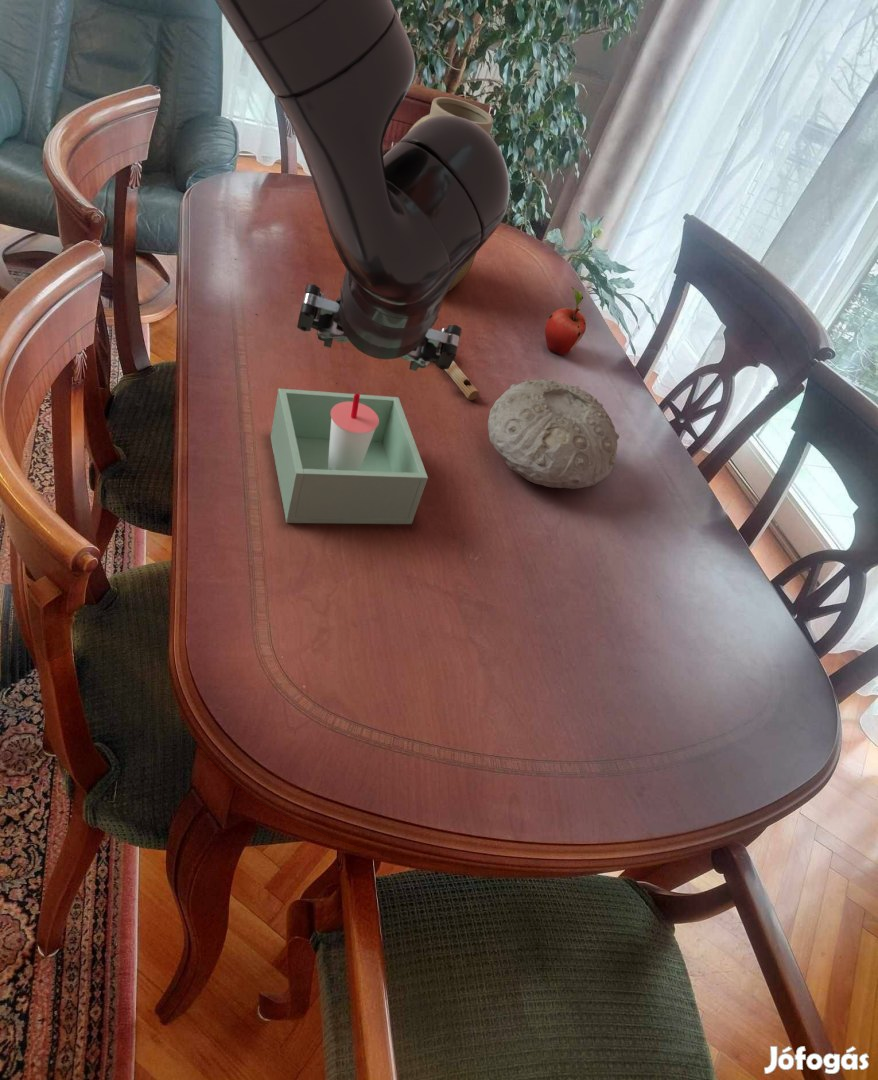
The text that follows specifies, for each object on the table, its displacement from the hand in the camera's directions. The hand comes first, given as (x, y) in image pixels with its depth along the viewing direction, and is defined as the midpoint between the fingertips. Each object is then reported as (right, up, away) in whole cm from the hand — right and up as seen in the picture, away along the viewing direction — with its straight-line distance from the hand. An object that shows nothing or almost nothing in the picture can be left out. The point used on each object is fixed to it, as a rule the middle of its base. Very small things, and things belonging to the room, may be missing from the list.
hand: (372, 348), depth 76 cm
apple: (+26, +13, +55) cm, 62 cm away
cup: (-5, -11, +16) cm, 20 cm away
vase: (+3, +28, +60) cm, 66 cm away
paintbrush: (+6, +8, +41) cm, 43 cm away
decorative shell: (+20, -8, +30) cm, 37 cm away
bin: (-5, -12, +16) cm, 21 cm away
